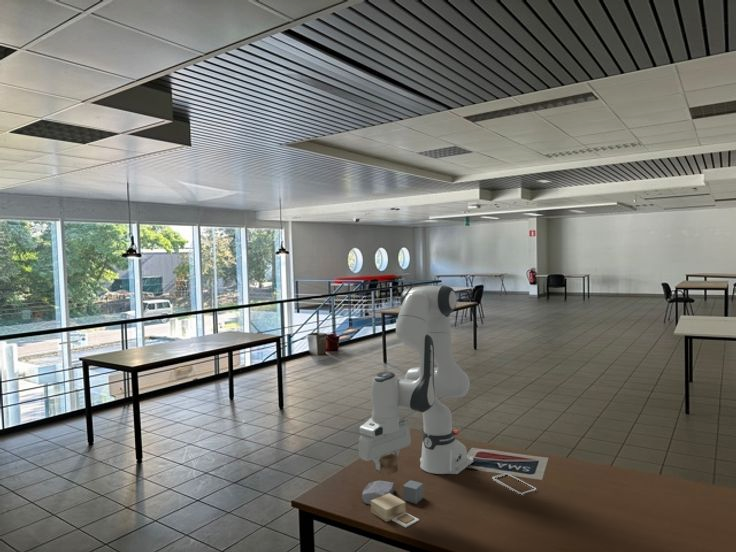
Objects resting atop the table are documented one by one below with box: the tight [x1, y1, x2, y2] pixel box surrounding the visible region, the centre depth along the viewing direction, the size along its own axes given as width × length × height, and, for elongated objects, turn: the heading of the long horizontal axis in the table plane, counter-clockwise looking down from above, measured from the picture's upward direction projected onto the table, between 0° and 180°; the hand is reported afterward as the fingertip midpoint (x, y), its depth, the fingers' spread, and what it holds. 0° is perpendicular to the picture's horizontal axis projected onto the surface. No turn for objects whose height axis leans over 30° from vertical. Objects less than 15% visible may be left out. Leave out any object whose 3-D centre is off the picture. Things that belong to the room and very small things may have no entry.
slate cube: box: [402, 479, 424, 504], centre depth 166 cm, size 5×5×5 cm
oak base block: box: [370, 493, 407, 523], centre depth 157 cm, size 8×8×4 cm
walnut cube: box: [375, 452, 399, 477], centre depth 158 cm, size 5×5×5 cm
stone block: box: [361, 480, 395, 505], centre depth 169 cm, size 12×5×10 cm
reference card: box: [391, 511, 420, 528], centre depth 152 cm, size 6×6×1 cm
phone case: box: [491, 472, 537, 496], centre depth 174 cm, size 7×1×15 cm
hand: (386, 466), depth 158 cm, fingers closed on walnut cube, 5 cm apart
